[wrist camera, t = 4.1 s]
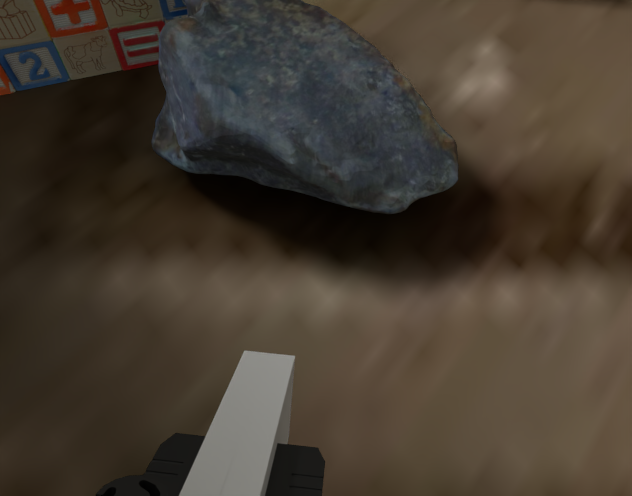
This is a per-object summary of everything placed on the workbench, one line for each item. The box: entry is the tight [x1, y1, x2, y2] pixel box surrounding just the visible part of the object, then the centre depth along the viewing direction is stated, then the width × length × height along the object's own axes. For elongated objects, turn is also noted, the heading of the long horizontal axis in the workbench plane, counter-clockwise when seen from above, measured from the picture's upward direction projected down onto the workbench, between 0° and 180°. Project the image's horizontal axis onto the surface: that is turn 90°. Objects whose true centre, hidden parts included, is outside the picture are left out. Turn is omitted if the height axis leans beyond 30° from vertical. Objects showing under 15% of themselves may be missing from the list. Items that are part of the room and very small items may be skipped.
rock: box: [152, 0, 458, 214], centre depth 29 cm, size 16×8×10 cm
